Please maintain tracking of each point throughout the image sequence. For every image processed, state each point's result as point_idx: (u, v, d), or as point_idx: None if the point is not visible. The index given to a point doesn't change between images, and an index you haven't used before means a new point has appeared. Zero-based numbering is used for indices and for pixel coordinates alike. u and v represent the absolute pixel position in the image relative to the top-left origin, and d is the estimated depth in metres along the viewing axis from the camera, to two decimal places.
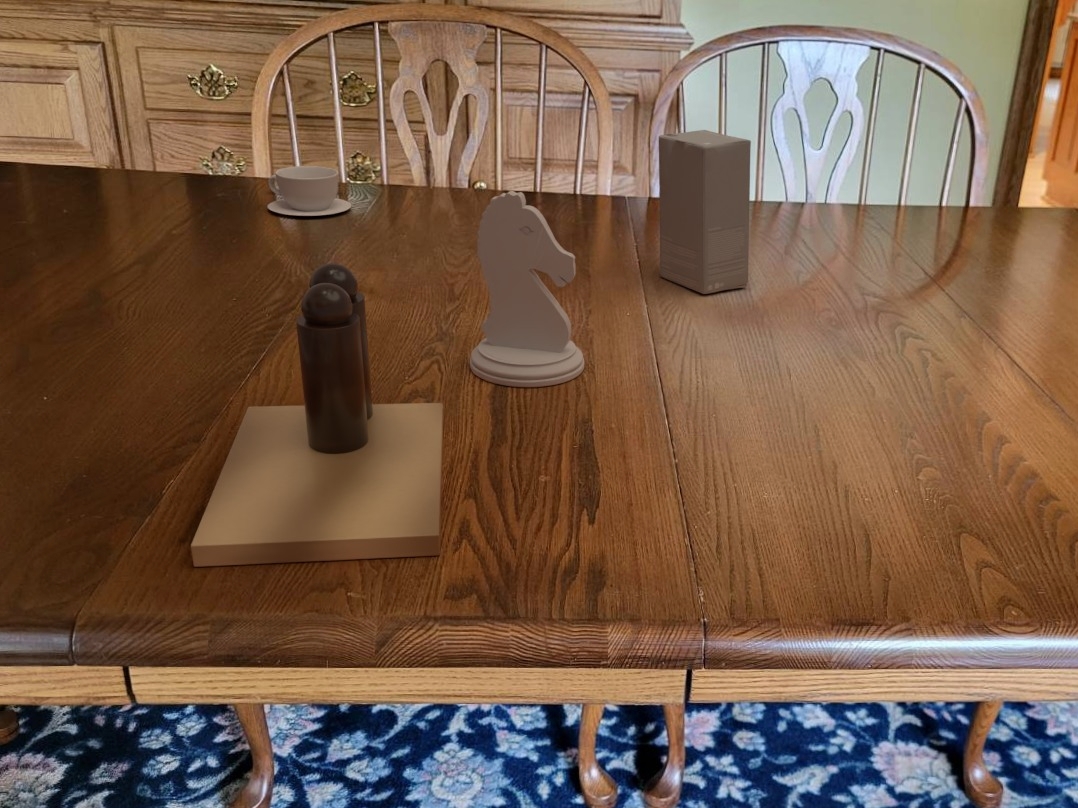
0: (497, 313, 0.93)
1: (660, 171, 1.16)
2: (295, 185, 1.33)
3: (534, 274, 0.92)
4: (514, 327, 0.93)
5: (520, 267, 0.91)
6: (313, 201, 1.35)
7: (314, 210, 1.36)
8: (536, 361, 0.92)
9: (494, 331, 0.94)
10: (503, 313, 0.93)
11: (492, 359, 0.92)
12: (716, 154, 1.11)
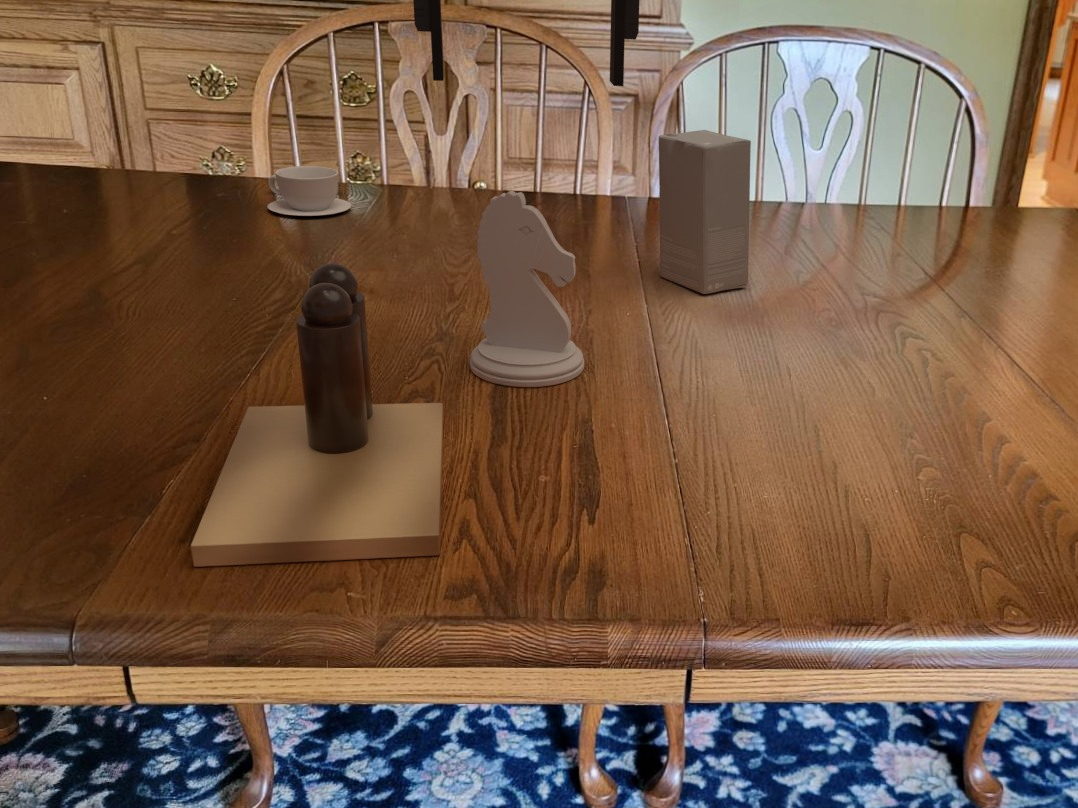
0: (497, 313, 0.93)
1: (660, 171, 1.16)
2: (295, 185, 1.33)
3: (534, 274, 0.92)
4: (514, 327, 0.93)
5: (520, 267, 0.91)
6: (313, 201, 1.35)
7: (314, 210, 1.36)
8: (536, 361, 0.92)
9: (494, 331, 0.94)
10: (503, 313, 0.93)
11: (492, 359, 0.92)
12: (716, 154, 1.11)
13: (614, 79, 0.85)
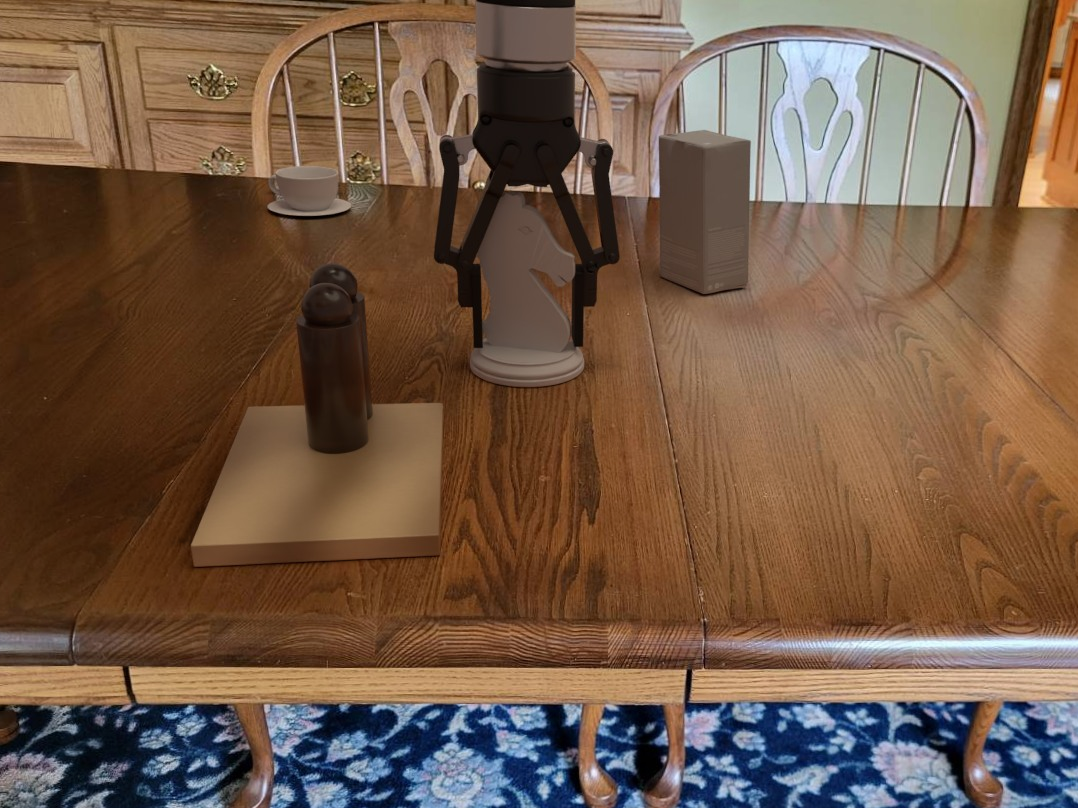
0: (497, 313, 0.93)
1: (660, 171, 1.16)
2: (295, 185, 1.33)
3: (534, 274, 0.92)
4: (514, 327, 0.93)
5: (520, 267, 0.91)
6: (313, 201, 1.35)
7: (314, 210, 1.36)
8: (536, 361, 0.92)
9: (494, 331, 0.94)
10: (503, 313, 0.93)
11: (492, 359, 0.92)
12: (716, 154, 1.11)
13: (575, 341, 0.94)
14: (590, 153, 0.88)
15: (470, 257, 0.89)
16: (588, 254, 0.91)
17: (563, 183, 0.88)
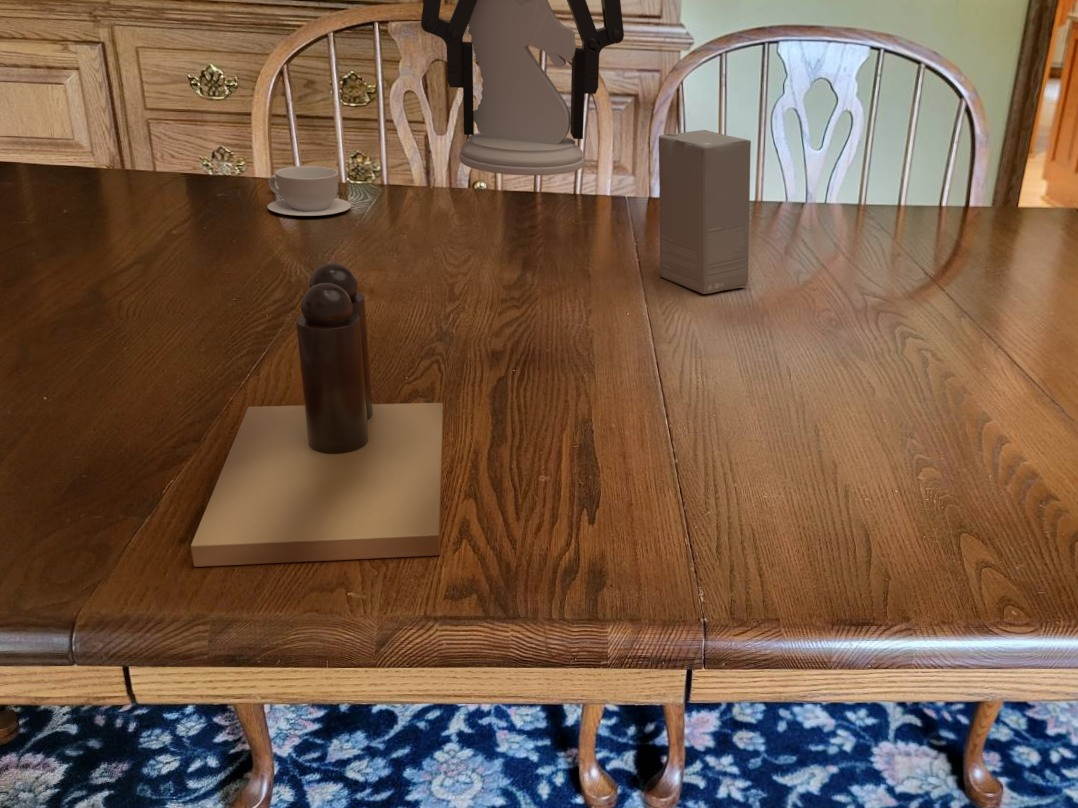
0: (489, 99, 0.85)
1: (660, 171, 1.16)
2: (295, 185, 1.33)
3: (530, 54, 0.84)
4: (508, 115, 0.86)
5: (515, 44, 0.83)
6: (313, 201, 1.35)
7: (314, 210, 1.36)
8: (532, 148, 0.84)
9: (486, 120, 0.86)
10: (496, 99, 0.85)
11: (484, 145, 0.84)
12: (716, 154, 1.11)
13: (574, 132, 0.86)
14: None
15: (461, 27, 0.82)
16: (590, 30, 0.83)
17: None
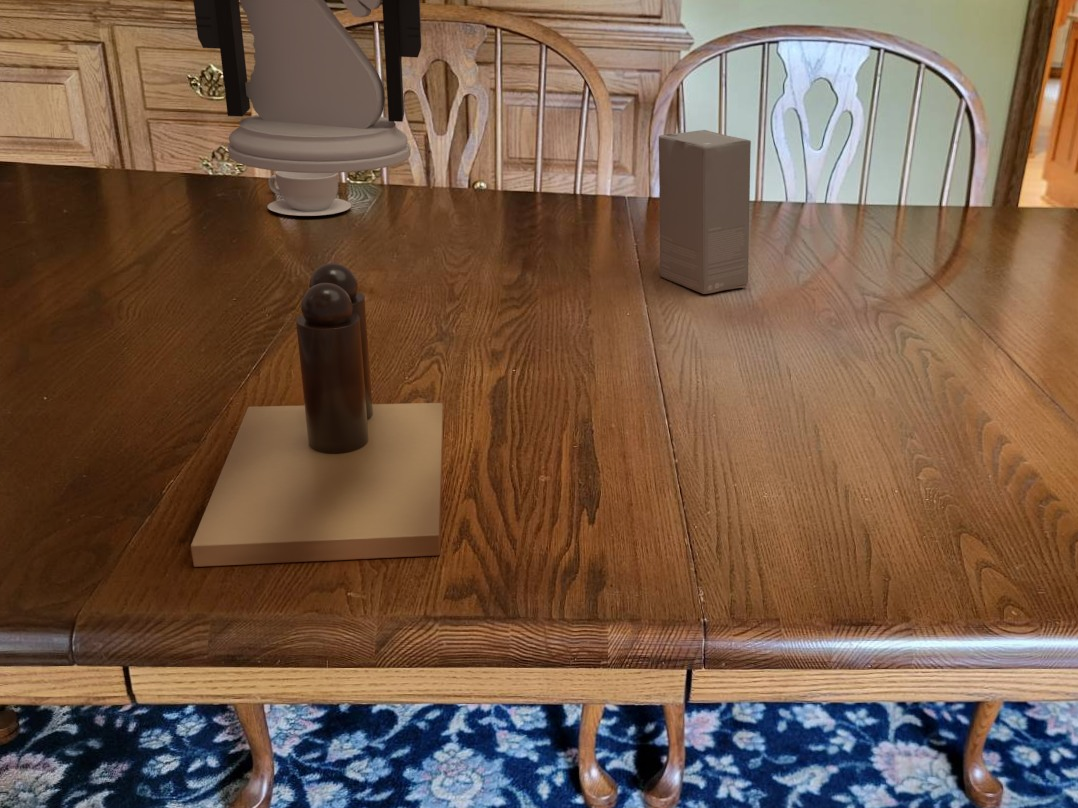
0: (266, 64, 0.60)
1: (660, 171, 1.16)
2: (295, 185, 1.33)
3: None
4: (294, 88, 0.61)
5: None
6: (313, 201, 1.35)
7: (314, 210, 1.36)
8: (323, 134, 0.59)
9: (265, 96, 0.61)
10: (275, 65, 0.60)
11: (253, 131, 0.59)
12: (716, 154, 1.11)
13: (389, 112, 0.61)
14: None
15: None
16: None
17: None
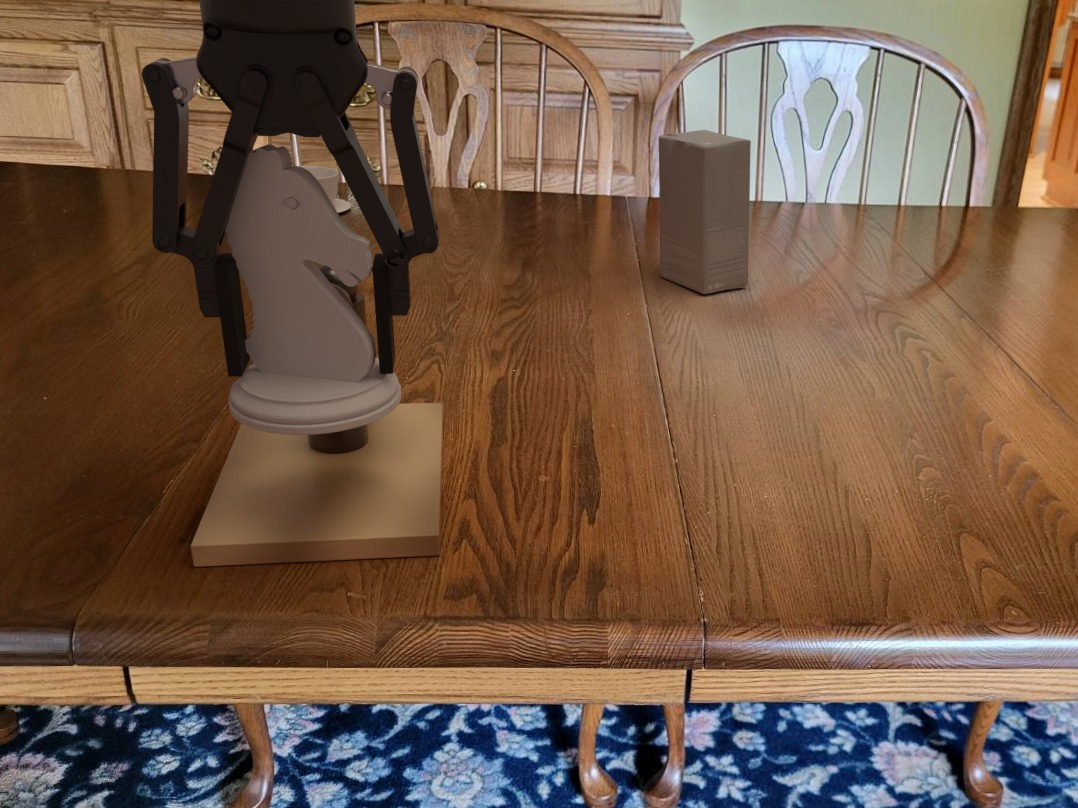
0: (264, 326, 0.64)
1: (660, 171, 1.16)
2: None
3: (313, 268, 0.63)
4: (290, 346, 0.64)
5: (290, 259, 0.62)
6: None
7: None
8: (317, 396, 0.63)
9: (263, 352, 0.65)
10: (273, 326, 0.64)
11: (252, 394, 0.62)
12: (716, 154, 1.11)
13: (380, 366, 0.65)
14: (384, 87, 0.59)
15: (209, 243, 0.60)
16: (390, 239, 0.62)
17: (341, 131, 0.58)
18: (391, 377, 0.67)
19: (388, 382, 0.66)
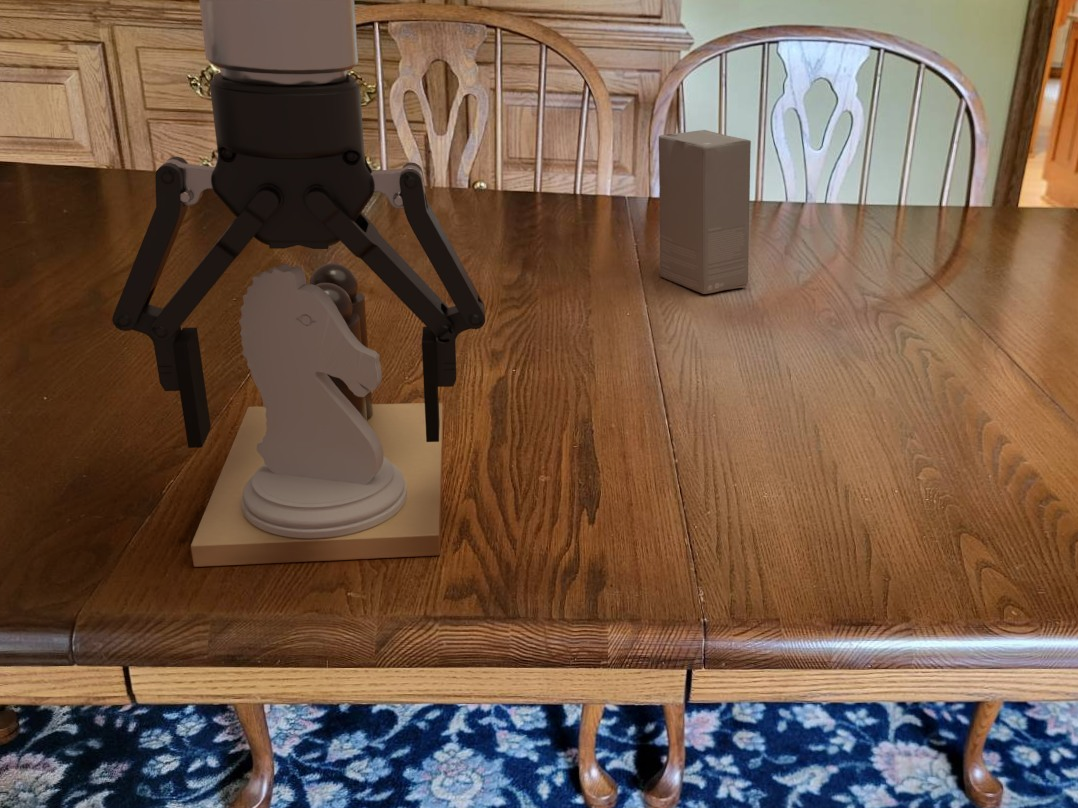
0: (277, 431, 0.67)
1: (660, 171, 1.16)
2: None
3: (325, 378, 0.66)
4: (302, 450, 0.67)
5: (303, 370, 0.65)
6: None
7: None
8: (327, 501, 0.65)
9: (275, 455, 0.68)
10: (285, 431, 0.67)
11: (265, 498, 0.65)
12: (716, 154, 1.11)
13: (427, 434, 0.67)
14: (392, 190, 0.61)
15: (172, 324, 0.62)
16: (435, 317, 0.64)
17: (360, 234, 0.61)
18: (397, 477, 0.70)
19: (394, 483, 0.69)
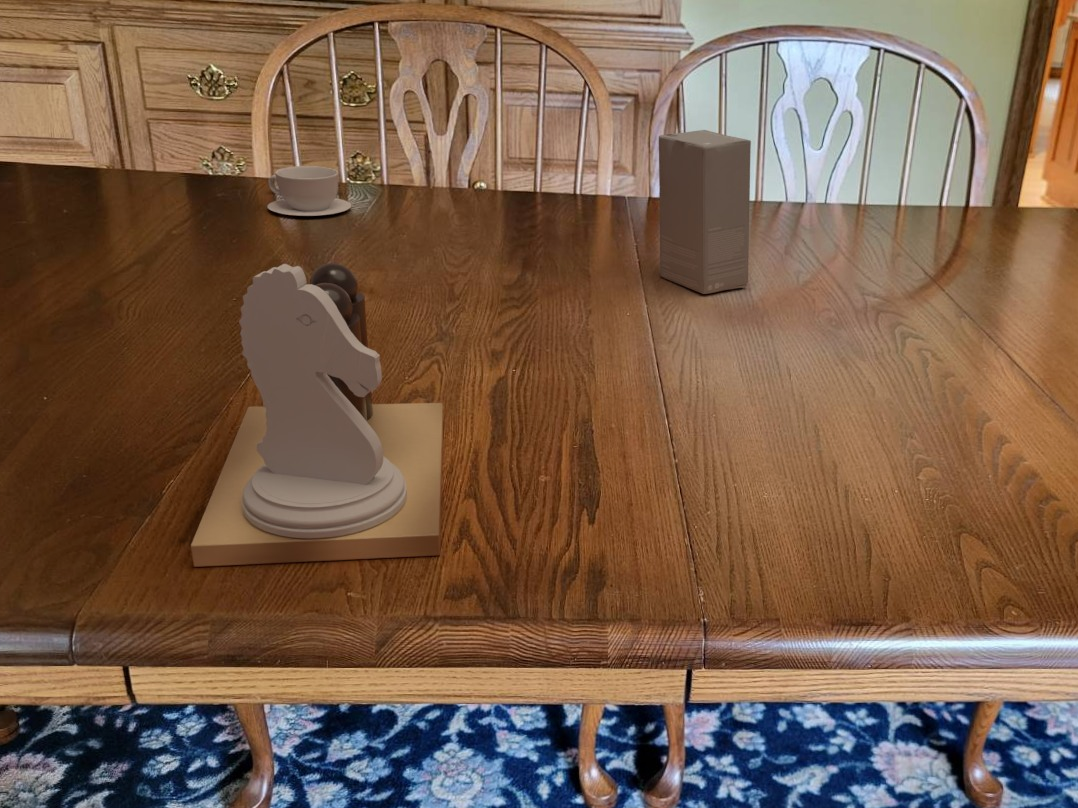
0: (277, 431, 0.67)
1: (660, 171, 1.16)
2: (295, 185, 1.33)
3: (325, 378, 0.66)
4: (302, 450, 0.67)
5: (303, 370, 0.65)
6: (313, 201, 1.35)
7: (314, 210, 1.36)
8: (327, 501, 0.65)
9: (275, 455, 0.68)
10: (285, 431, 0.67)
11: (265, 498, 0.65)
12: (716, 154, 1.11)
13: None
14: None
15: None
16: None
17: None
18: (397, 477, 0.70)
19: (394, 483, 0.69)
